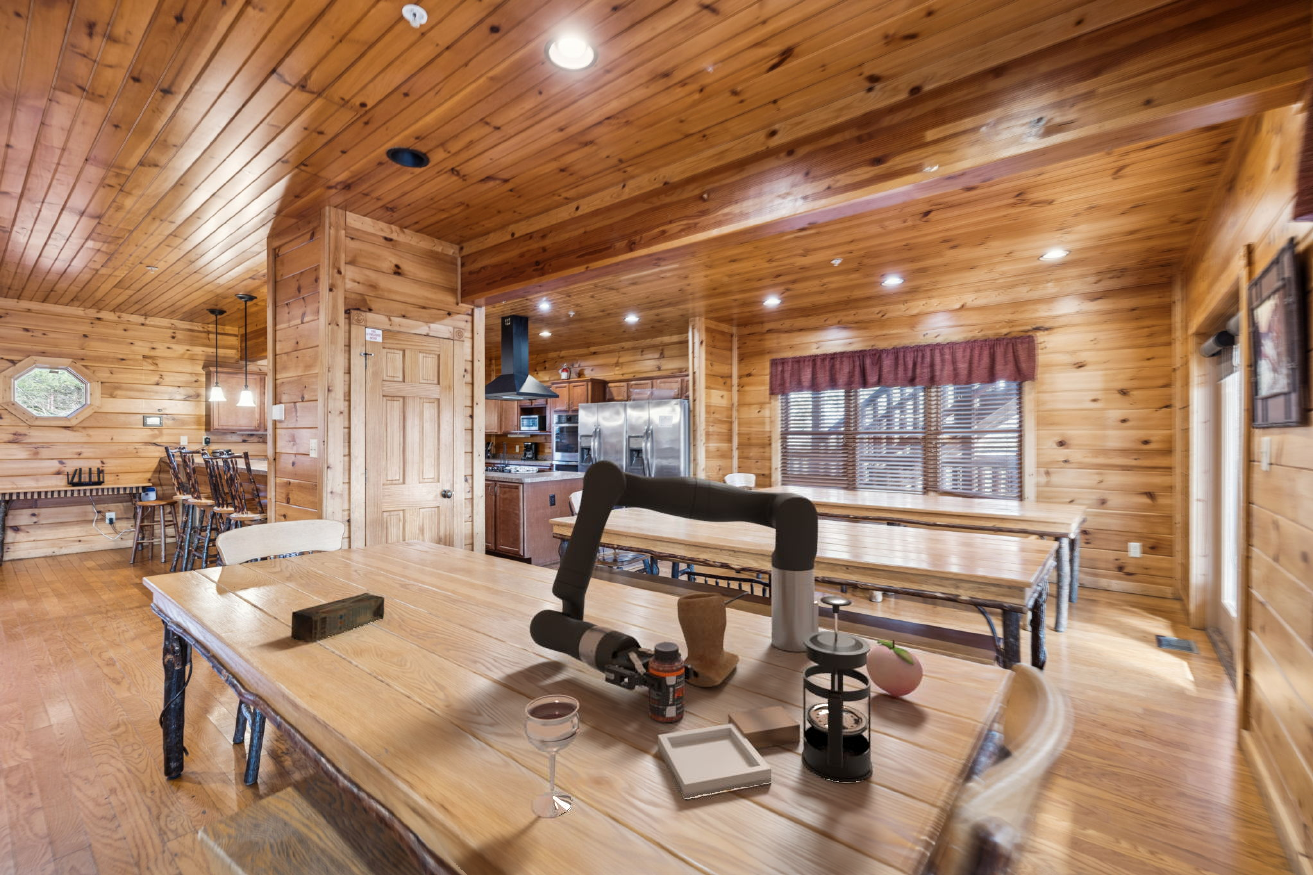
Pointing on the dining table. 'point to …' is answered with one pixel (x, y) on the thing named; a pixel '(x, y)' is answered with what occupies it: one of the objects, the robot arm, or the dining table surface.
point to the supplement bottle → (667, 683)
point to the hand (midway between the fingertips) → (677, 679)
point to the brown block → (766, 726)
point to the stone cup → (705, 638)
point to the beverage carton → (336, 617)
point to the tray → (712, 760)
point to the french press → (836, 704)
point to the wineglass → (552, 743)
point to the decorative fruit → (894, 669)
